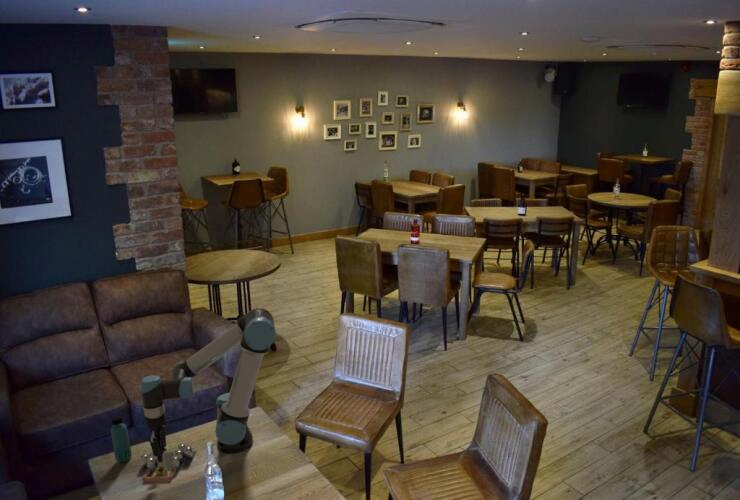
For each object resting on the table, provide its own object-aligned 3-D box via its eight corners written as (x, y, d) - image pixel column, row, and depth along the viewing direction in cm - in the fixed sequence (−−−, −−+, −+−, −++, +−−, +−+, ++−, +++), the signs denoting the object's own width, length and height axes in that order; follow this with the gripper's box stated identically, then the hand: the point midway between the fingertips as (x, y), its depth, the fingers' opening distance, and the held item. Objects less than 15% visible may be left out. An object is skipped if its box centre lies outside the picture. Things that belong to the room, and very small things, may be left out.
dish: (176, 472, 233) (176, 467, 233) (171, 482, 227) (170, 476, 227) (149, 474, 233) (148, 468, 233) (143, 484, 227) (142, 478, 227)
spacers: (195, 453, 245) (193, 442, 244) (186, 470, 233) (185, 459, 232) (149, 455, 245) (147, 445, 244) (138, 472, 233) (137, 461, 232)
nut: (166, 469, 234) (164, 464, 233) (168, 476, 230) (167, 471, 230) (155, 473, 232) (154, 468, 231) (158, 480, 229) (157, 475, 228)
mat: (197, 453, 246) (197, 451, 246) (188, 471, 234) (187, 469, 234) (150, 455, 246) (150, 453, 246) (138, 474, 234) (138, 472, 234)
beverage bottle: (126, 466, 240) (119, 422, 235) (112, 464, 241) (104, 421, 236) (135, 457, 246) (128, 414, 241) (121, 455, 247) (114, 413, 243)
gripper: (151, 406, 234) (158, 458, 240) (139, 423, 222) (147, 477, 227) (169, 405, 234) (176, 457, 240) (158, 422, 222) (166, 476, 227)
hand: (162, 467), depth 233 cm, fingers closed
